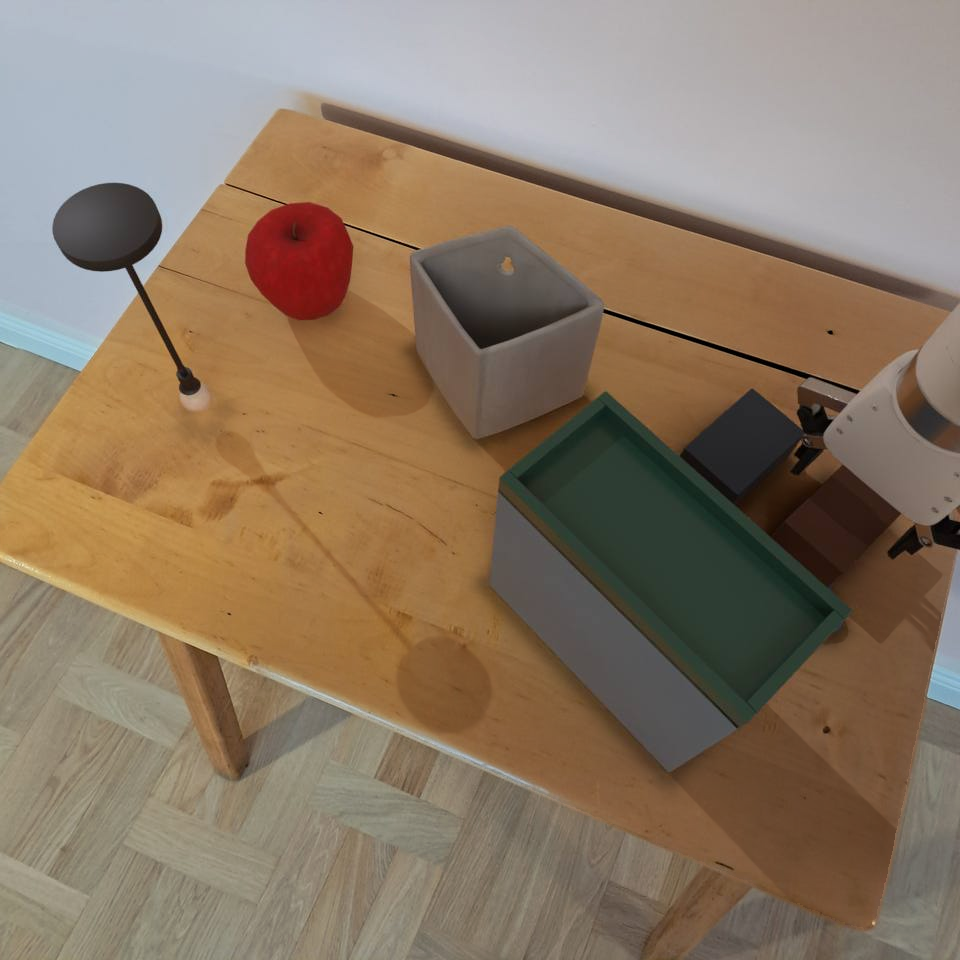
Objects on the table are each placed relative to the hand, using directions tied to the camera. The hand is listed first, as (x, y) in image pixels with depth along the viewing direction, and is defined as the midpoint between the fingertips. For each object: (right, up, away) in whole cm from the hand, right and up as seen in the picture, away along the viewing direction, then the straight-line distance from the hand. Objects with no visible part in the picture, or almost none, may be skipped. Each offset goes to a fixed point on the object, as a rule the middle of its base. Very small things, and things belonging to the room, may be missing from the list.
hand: (850, 503), depth 70 cm
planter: (-29, +9, +10) cm, 32 cm away
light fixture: (-55, +8, +9) cm, 56 cm away
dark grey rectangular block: (-8, +3, +7) cm, 11 cm away
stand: (-19, -11, 0) cm, 22 cm away
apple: (-46, +19, +14) cm, 52 cm away
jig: (-19, -3, -16) cm, 25 cm away
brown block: (0, -3, +5) cm, 5 cm away
